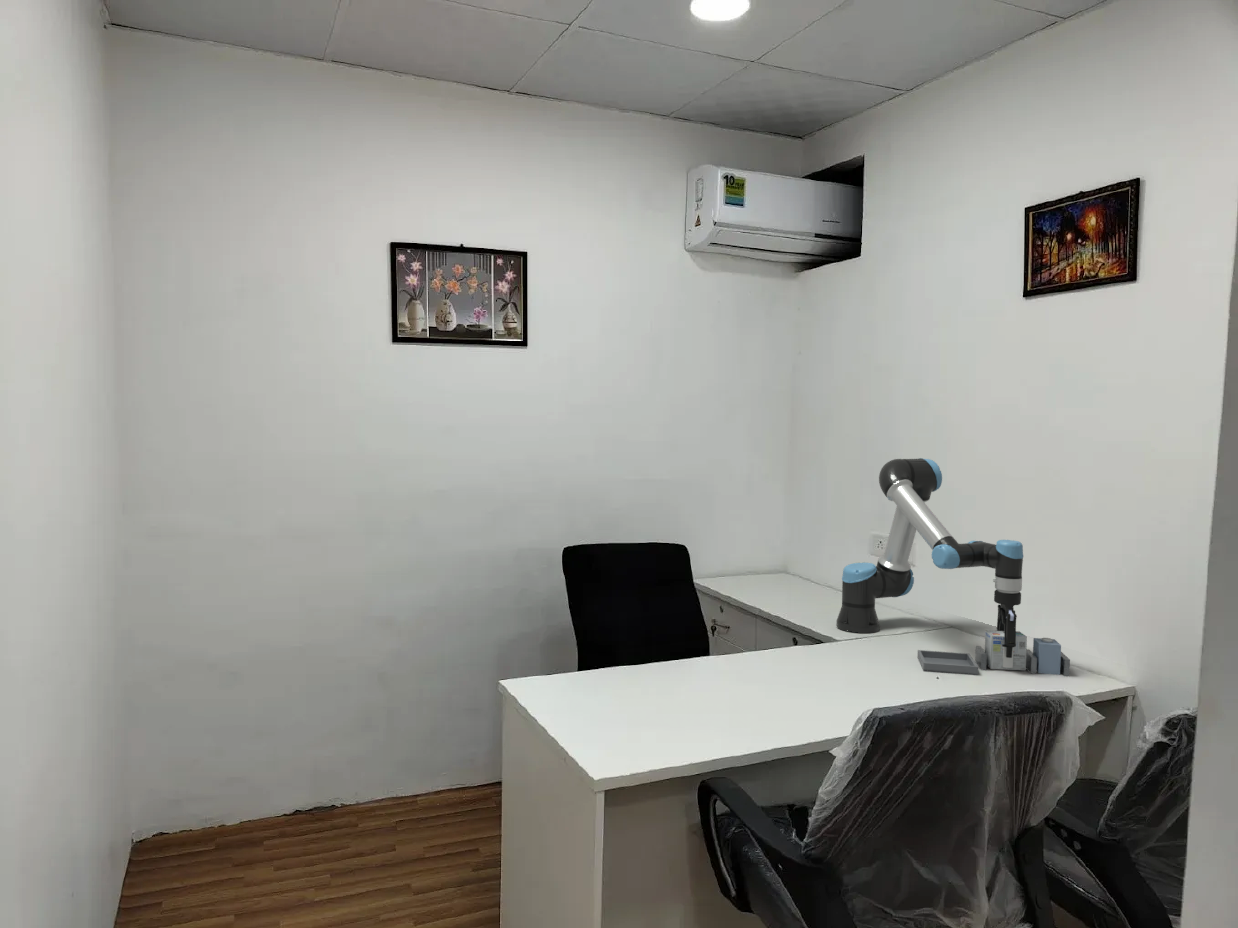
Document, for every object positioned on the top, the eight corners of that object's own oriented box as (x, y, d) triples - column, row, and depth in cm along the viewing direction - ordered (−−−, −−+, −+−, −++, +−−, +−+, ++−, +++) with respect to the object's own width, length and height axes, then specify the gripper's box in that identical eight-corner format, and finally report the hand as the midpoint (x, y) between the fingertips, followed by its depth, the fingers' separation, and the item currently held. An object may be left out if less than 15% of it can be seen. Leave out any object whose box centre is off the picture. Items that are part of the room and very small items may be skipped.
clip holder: (975, 661, 267) (975, 645, 266) (1060, 667, 261) (1061, 651, 261) (980, 669, 258) (981, 653, 258) (1069, 676, 252) (1070, 659, 252)
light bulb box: (1018, 664, 263) (1020, 630, 263) (1026, 671, 257) (1028, 636, 256) (983, 663, 264) (984, 629, 264) (990, 669, 258) (991, 635, 257)
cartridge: (1032, 666, 262) (1033, 635, 261) (1053, 667, 261) (1054, 636, 260) (1038, 672, 255) (1039, 641, 255) (1059, 674, 254) (1061, 642, 253)
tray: (917, 657, 270) (917, 649, 270) (969, 661, 267) (969, 653, 267) (923, 671, 256) (923, 663, 256) (978, 675, 253) (978, 666, 252)
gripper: (988, 583, 270) (985, 653, 271) (1002, 596, 250) (998, 672, 252) (1013, 584, 268) (1010, 655, 269) (1029, 598, 248) (1025, 674, 250)
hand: (1004, 663), depth 261 cm, fingers closed on light bulb box, 7 cm apart
